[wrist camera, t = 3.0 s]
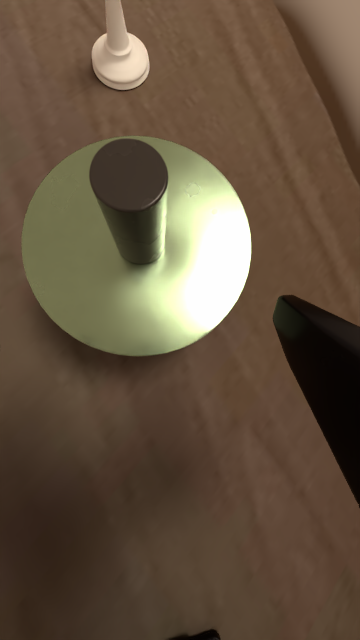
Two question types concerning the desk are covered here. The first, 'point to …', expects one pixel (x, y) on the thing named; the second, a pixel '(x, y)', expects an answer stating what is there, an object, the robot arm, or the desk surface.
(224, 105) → the desk surface
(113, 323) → the lid
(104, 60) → the chess piece
